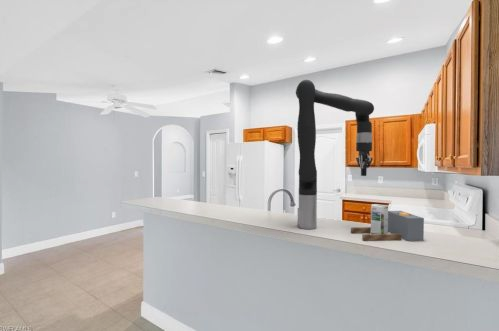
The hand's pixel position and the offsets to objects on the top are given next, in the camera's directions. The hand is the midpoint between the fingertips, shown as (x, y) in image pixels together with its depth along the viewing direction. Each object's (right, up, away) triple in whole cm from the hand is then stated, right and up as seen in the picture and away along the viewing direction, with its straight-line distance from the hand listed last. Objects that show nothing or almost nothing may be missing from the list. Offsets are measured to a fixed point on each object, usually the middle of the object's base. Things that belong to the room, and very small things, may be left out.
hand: (363, 175), depth 136 cm
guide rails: (-1, -27, -13) cm, 30 cm away
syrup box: (+2, -28, -13) cm, 30 cm away
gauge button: (+13, -21, -12) cm, 28 cm away
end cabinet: (+13, -27, -12) cm, 33 cm away
